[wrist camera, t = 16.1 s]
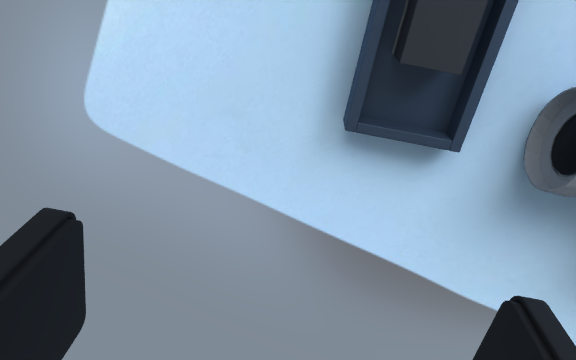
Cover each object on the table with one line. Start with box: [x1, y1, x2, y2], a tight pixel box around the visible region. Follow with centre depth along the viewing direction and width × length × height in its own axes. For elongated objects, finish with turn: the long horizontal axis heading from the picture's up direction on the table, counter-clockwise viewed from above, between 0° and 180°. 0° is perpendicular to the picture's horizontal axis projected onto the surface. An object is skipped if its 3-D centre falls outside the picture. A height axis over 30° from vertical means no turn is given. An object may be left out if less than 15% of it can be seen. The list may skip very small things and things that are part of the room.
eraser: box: [392, 0, 488, 75], centre depth 29 cm, size 4×8×4 cm, turn 170°
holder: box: [343, 0, 518, 152], centre depth 30 cm, size 9×20×2 cm, turn 170°
